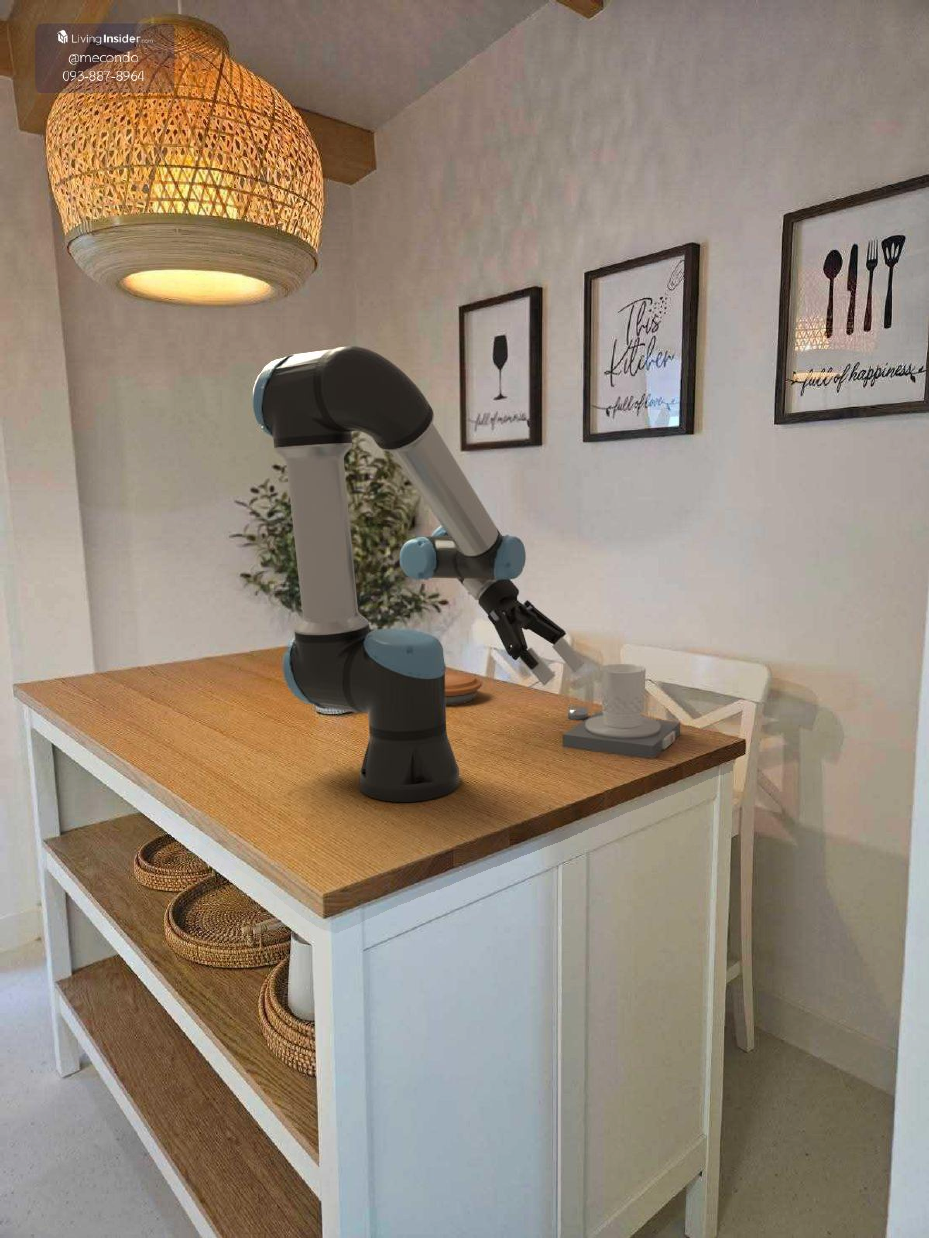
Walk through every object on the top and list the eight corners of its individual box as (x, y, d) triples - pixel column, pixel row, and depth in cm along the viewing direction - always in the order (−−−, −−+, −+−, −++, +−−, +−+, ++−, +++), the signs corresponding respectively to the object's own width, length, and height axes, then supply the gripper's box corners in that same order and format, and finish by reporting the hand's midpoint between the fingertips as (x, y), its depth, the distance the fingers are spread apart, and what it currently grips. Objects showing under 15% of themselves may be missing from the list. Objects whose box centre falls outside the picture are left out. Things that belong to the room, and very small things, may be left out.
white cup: (645, 730, 139) (645, 673, 138) (598, 728, 141) (598, 672, 139) (645, 718, 147) (645, 664, 145) (601, 717, 148) (600, 663, 147)
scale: (656, 759, 133) (656, 741, 132) (562, 746, 141) (562, 729, 141) (683, 734, 146) (684, 718, 146) (596, 724, 155) (596, 708, 154)
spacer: (583, 722, 157) (583, 712, 157) (564, 719, 159) (564, 709, 159) (591, 717, 160) (591, 707, 160) (573, 714, 163) (573, 705, 162)
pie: (497, 699, 177) (496, 676, 177) (440, 712, 168) (439, 688, 167) (453, 688, 189) (453, 667, 189) (398, 699, 180) (397, 677, 179)
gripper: (510, 596, 166) (578, 674, 160) (445, 609, 145) (521, 700, 139) (533, 571, 163) (603, 650, 157) (470, 580, 142) (549, 672, 136)
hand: (565, 673), depth 148 cm, fingers open, 13 cm apart
